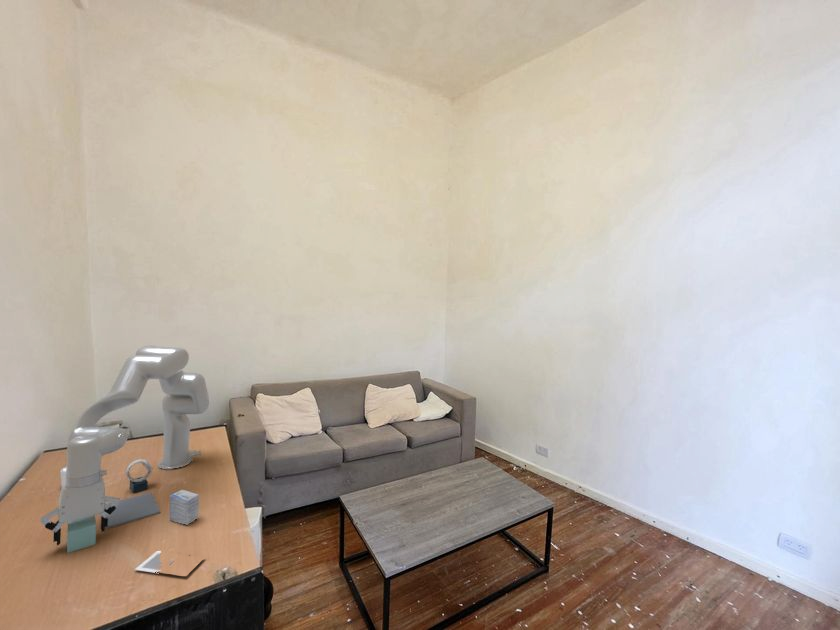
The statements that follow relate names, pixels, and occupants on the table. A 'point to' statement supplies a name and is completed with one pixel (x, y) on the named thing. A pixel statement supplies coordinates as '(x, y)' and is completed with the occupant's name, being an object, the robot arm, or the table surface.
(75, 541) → the cube
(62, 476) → the white cylinder
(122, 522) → the mat
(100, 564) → the table surface
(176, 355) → the robot arm
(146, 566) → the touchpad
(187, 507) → the medicine box
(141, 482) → the watch
